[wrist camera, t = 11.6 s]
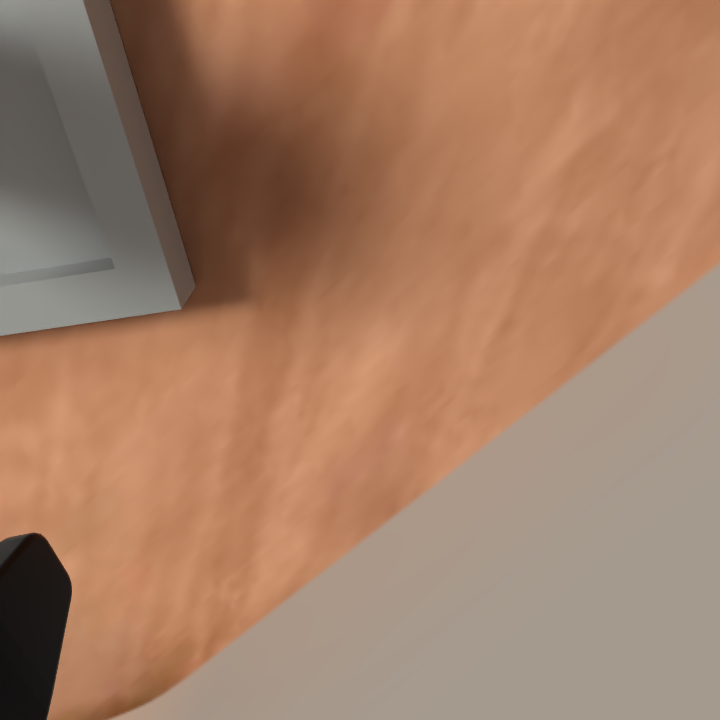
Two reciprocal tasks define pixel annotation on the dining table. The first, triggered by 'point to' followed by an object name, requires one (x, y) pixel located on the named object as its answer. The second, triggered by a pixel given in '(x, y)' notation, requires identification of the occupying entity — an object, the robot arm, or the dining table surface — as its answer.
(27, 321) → the tray
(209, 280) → the dining table surface
